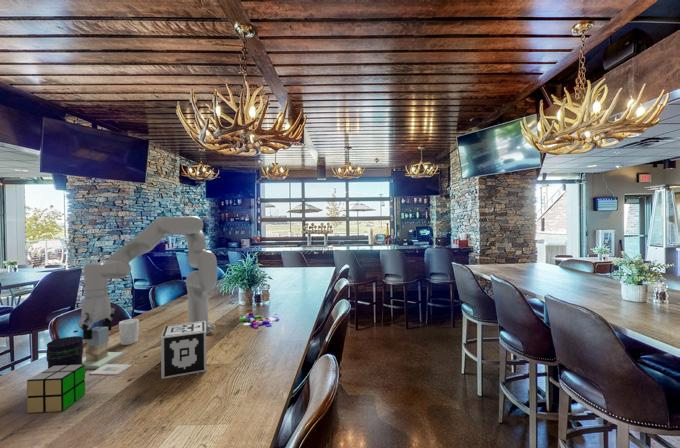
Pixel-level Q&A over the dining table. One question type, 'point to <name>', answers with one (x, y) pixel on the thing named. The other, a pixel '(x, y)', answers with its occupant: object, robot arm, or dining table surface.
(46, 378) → the puzzle cube
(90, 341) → the slate block
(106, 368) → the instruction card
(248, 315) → the flower wreath
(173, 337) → the block
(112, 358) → the board
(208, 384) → the dining table surface
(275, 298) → the dining table surface
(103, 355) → the maple block
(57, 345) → the storage jar
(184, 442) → the dining table surface
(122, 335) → the white cup
